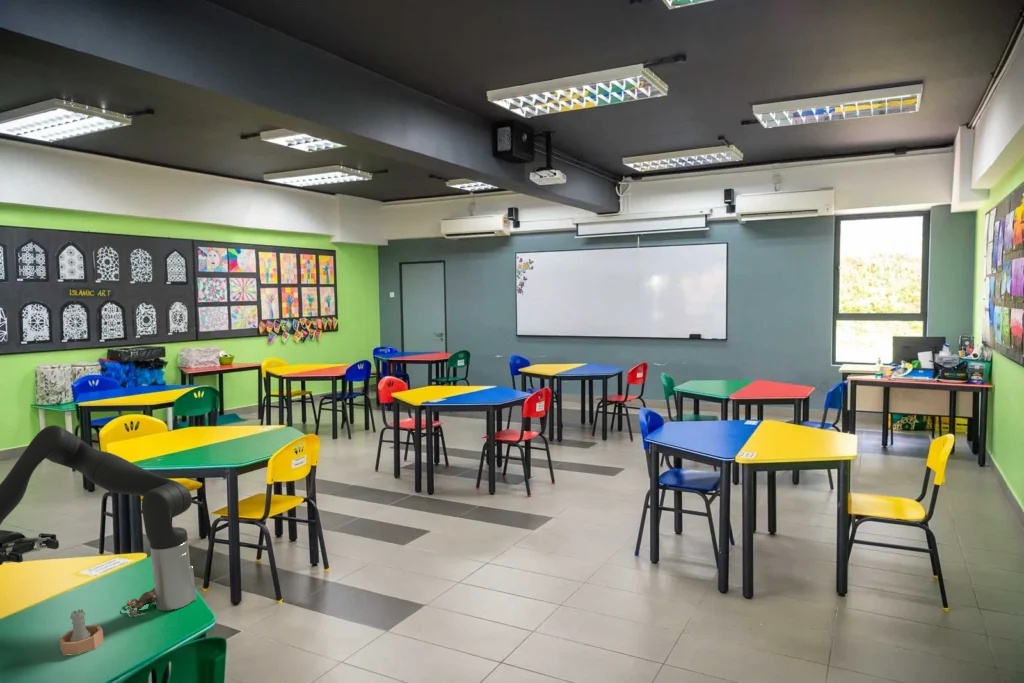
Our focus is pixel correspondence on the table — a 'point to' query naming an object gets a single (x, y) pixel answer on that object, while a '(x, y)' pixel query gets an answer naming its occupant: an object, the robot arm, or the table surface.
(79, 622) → the rook chess piece
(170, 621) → the table surface
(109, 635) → the table surface
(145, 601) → the frog figurine
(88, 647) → the dish
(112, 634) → the table surface
